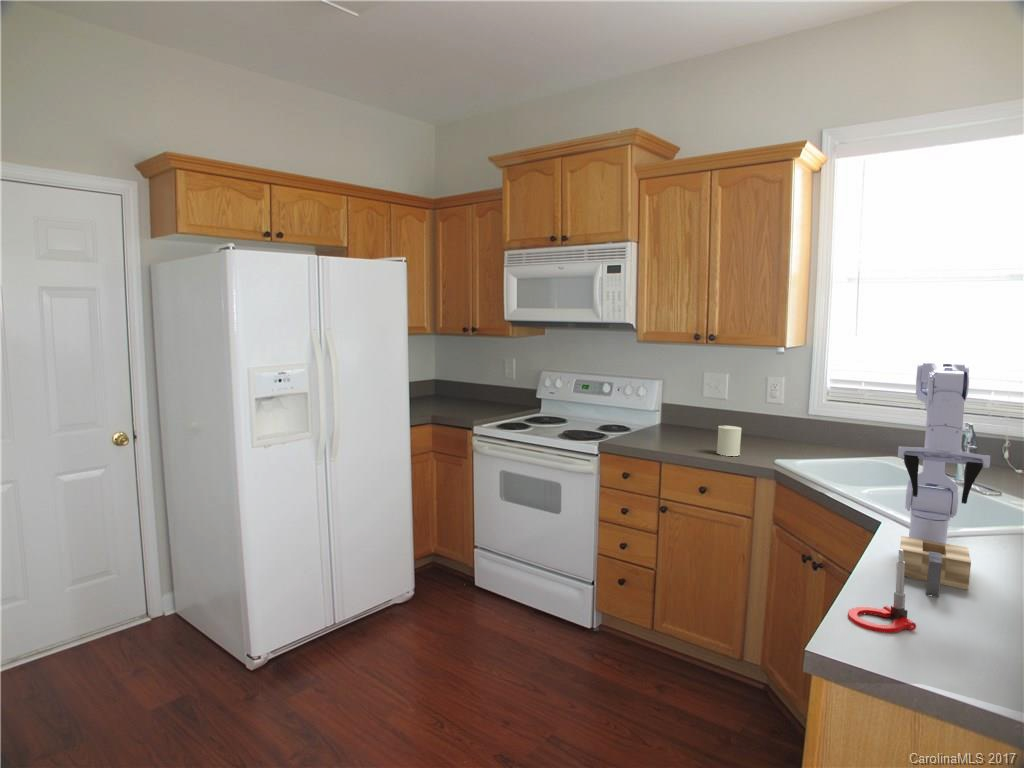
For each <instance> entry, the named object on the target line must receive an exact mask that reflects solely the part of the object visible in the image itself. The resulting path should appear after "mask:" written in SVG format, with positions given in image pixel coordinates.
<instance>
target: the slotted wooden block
mask: <svg viewBox="0 0 1024 768" xmlns="http://www.w3.org/2000/svg"><path fill="white" fill-rule="evenodd" d="M899 545H900V546H899V549H902V550H904V562H905V572H904V577H905V576H908V577H907V578H910V579H916V580H920V581H924V582H926V581H927V571H928V560H929V551H931V552H937V553H941V556H942V567H941V577H940V585H943V584H944V585H945V586H948V585H949V586H948V587H953V588H957V589H958V588H959V589H964V590H969V585H970V577H971V566H972V562H971V556H970V552H969V547H966V546H961V545H955V544H950V543H946V544H944V543H939V542H933V541H928V540H922V539H916V538H911V537H909V536H904V535H901V536H900V544H899Z"/></svg>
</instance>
